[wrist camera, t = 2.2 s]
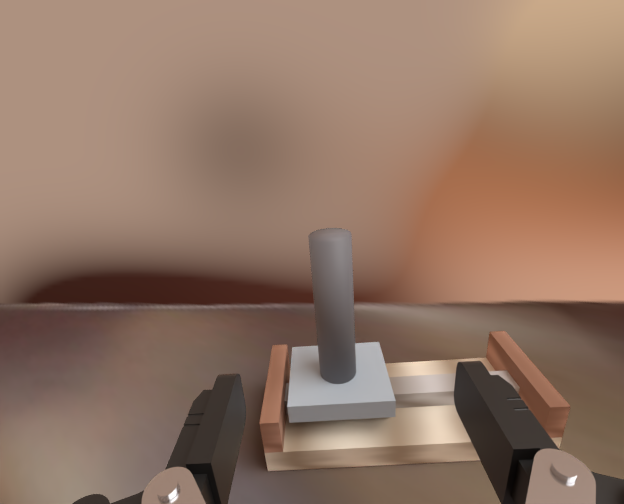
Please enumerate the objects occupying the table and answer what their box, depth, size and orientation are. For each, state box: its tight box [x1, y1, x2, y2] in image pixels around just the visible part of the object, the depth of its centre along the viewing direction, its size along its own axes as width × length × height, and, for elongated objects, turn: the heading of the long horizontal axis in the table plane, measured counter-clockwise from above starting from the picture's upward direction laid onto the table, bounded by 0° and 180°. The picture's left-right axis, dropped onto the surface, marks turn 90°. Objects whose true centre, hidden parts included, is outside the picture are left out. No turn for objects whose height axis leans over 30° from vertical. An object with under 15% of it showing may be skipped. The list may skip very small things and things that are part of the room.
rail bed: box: [259, 331, 570, 471], centre depth 30 cm, size 22×9×5 cm, turn 90°
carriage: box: [287, 228, 396, 423], centre depth 27 cm, size 8×7×15 cm
